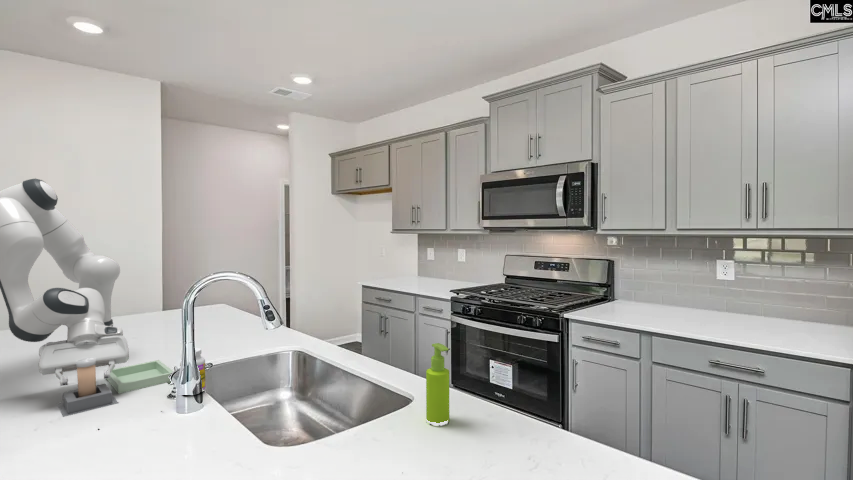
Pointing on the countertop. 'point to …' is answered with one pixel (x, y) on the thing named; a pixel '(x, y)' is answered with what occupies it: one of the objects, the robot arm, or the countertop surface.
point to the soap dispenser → (437, 387)
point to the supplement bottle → (200, 366)
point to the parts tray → (139, 376)
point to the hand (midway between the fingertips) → (85, 380)
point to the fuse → (86, 377)
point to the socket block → (86, 401)
